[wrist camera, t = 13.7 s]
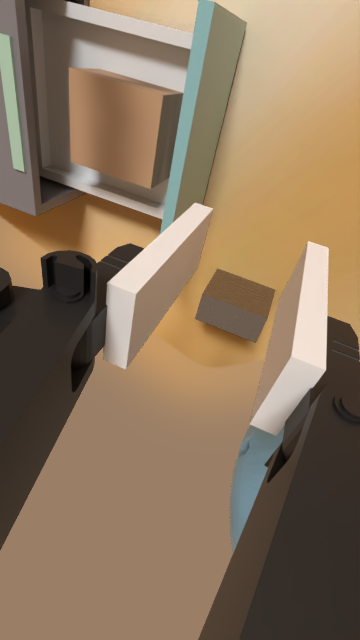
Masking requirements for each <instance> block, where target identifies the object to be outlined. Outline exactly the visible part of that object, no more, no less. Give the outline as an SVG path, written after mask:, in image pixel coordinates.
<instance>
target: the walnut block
mask: <svg viewBox="0 0 360 640" xmlns="http://www.w3.org/2000/svg"><path fill="white" fill-rule="evenodd" d="M182 99H183V92H179V91H176V90H172V89H169V88H165V87H162V86H158V85H155V84H151V83H148V82H144V81H141V80H137V79H134V78H130V77H127V76H124V75H120V74H117V73H113V72H110V71H106V70H103V69H91V68H69V107H70V152H71V162H73V163H76V164H79V165H82V166H85V167H87V168H90V169H93V170H96V171H99V172H102V173H105V174H108V175H111V176H114V177H117V178H119V179H122V180H125V181H128V182H131V183H134V184H137V185H140V186H143V187H146V188H149V189H152V188H153V187H155V186H157V185H158V184H160V183H161V182H163V181H165V180H166V179H168V178H169V177H170V171H171V165H172V159H173V153H174V147H175V141H176V135H177V129H178V123H179V117H180V111H181V105H182Z"/></svg>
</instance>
